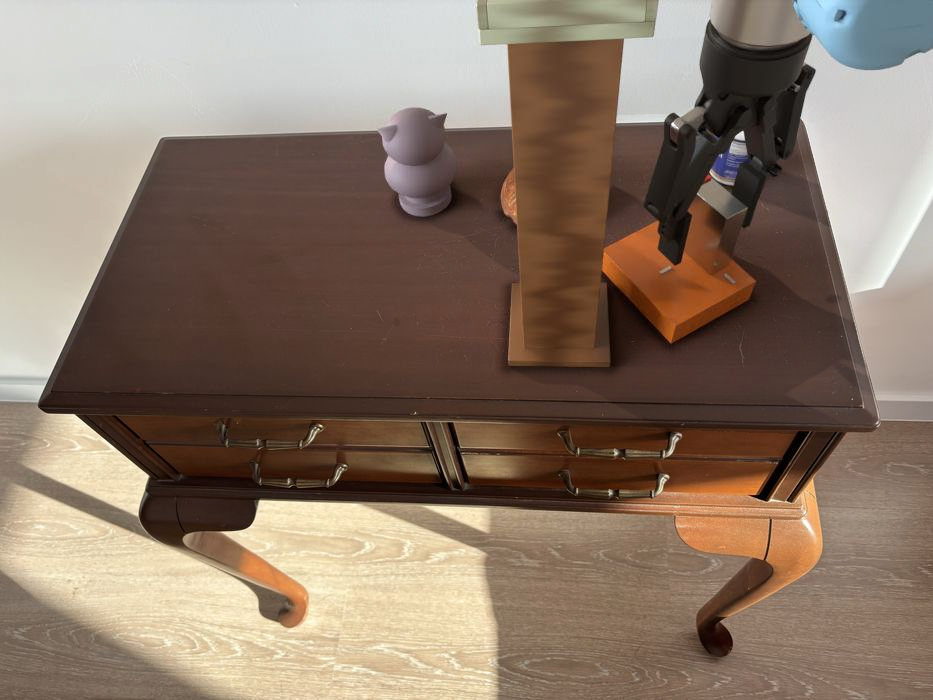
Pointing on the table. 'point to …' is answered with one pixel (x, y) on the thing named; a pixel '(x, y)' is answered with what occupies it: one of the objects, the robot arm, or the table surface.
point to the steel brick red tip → (714, 226)
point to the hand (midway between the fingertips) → (703, 237)
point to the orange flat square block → (672, 284)
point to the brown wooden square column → (562, 165)
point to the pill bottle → (730, 161)
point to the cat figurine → (419, 160)
